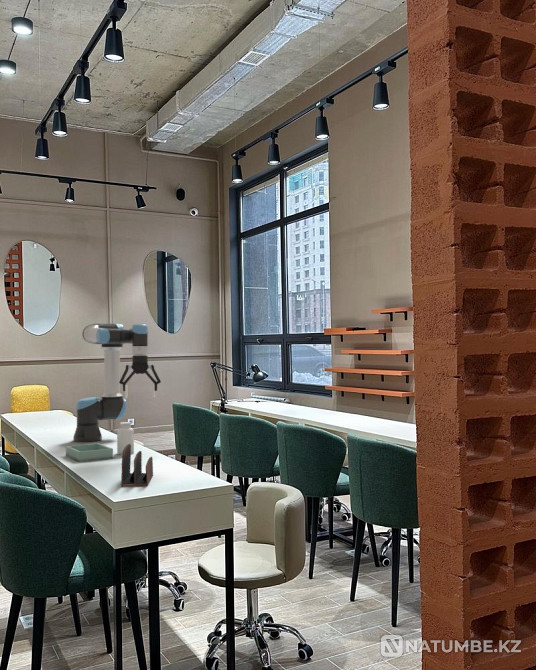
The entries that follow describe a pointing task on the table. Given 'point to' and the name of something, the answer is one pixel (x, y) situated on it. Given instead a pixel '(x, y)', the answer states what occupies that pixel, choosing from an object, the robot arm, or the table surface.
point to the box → (89, 452)
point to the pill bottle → (125, 437)
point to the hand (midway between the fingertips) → (140, 397)
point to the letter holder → (135, 470)
